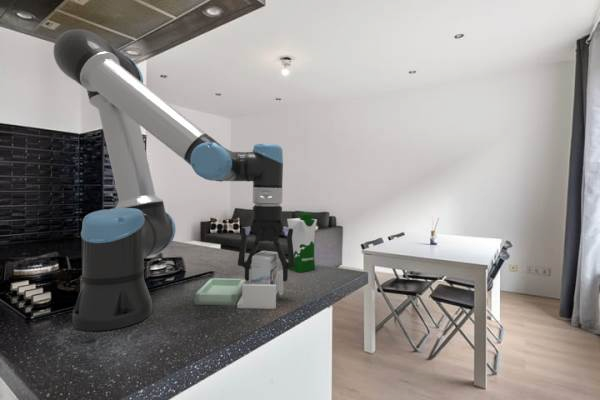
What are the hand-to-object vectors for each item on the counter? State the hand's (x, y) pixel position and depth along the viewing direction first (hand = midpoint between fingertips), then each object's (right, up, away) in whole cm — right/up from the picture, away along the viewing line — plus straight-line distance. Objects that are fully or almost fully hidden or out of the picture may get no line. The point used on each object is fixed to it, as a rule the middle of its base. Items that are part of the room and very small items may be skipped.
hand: (266, 292), depth 83 cm
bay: (-1, -2, 0) cm, 2 cm away
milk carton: (+9, -1, +31) cm, 32 cm away
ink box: (-1, -2, 0) cm, 2 cm away
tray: (-12, -1, +2) cm, 12 cm away
